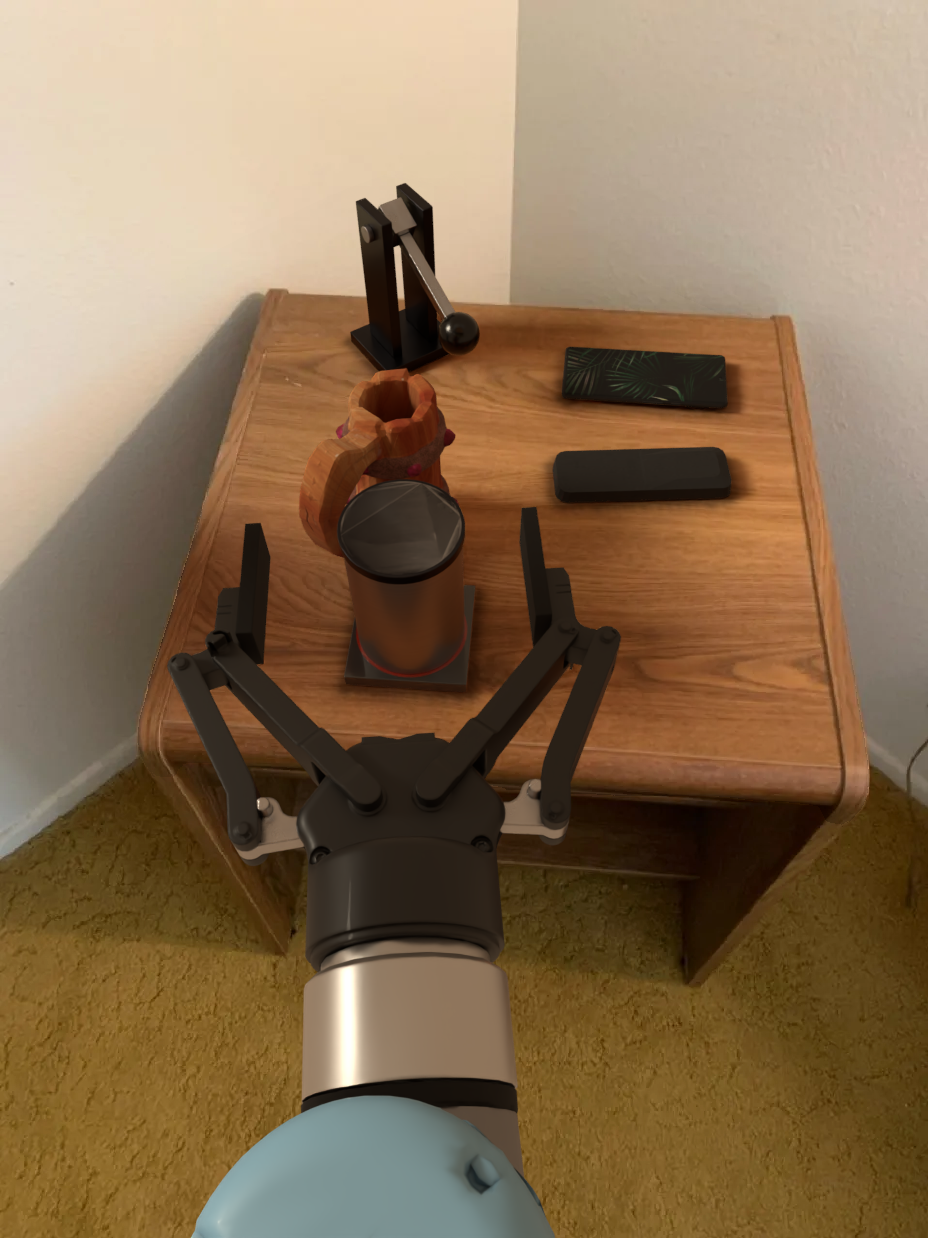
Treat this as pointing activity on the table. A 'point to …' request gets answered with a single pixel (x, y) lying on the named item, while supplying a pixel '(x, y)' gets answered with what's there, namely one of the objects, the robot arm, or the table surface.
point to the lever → (431, 284)
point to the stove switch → (391, 331)
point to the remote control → (641, 474)
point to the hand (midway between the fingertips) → (393, 531)
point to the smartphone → (645, 377)
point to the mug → (374, 450)
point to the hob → (439, 679)
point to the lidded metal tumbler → (405, 573)
